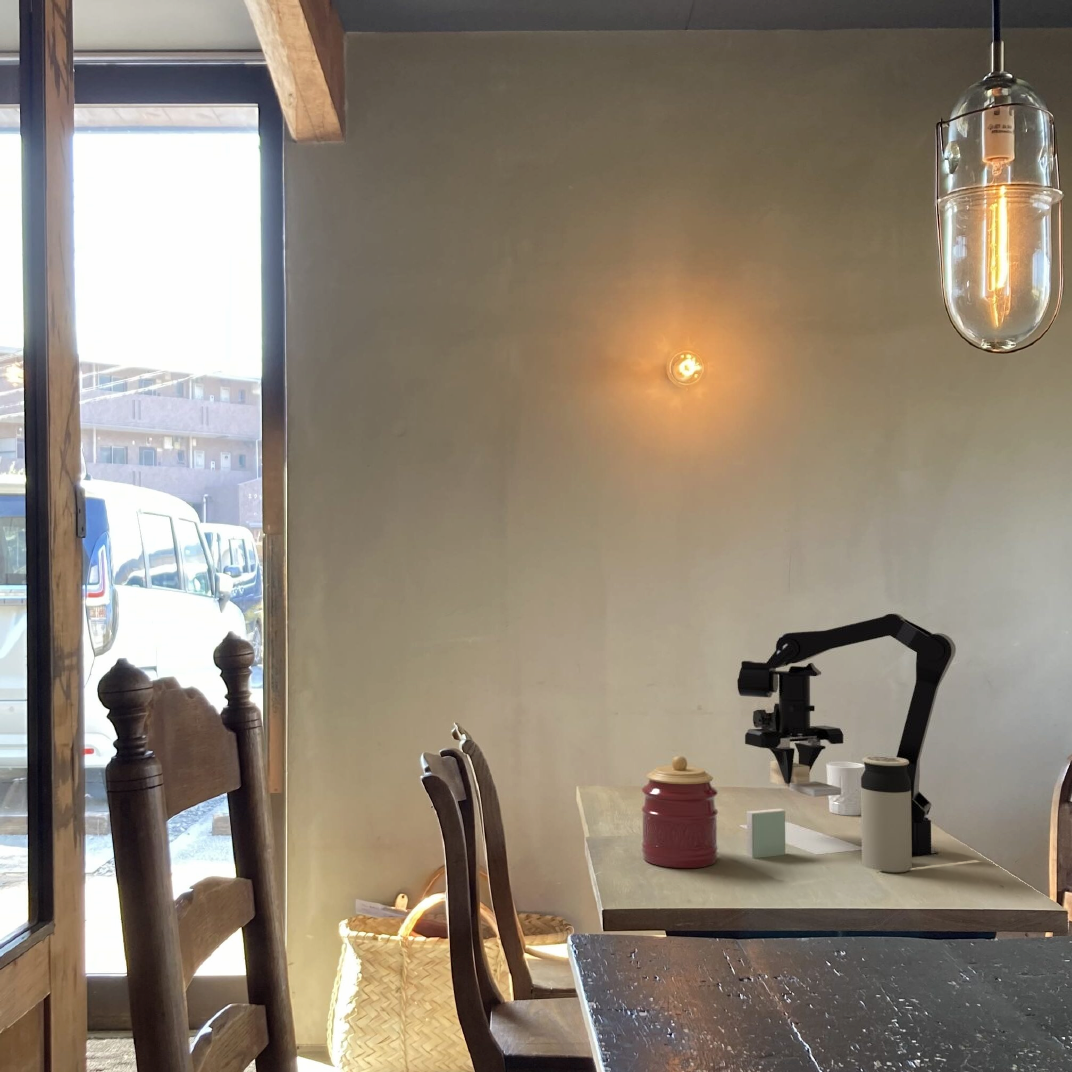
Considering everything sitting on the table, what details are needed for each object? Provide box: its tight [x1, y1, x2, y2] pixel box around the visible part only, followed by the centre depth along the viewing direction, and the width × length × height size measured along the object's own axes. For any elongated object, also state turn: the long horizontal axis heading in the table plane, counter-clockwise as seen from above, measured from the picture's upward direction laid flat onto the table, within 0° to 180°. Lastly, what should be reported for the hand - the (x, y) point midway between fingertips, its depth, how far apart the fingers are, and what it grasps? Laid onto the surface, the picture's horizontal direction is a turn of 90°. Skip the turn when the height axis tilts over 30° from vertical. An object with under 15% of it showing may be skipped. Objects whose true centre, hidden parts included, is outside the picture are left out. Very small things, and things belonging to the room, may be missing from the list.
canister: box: [641, 755, 719, 869], centre depth 177 cm, size 13×13×18 cm
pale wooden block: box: [769, 759, 841, 798], centre depth 191 cm, size 15×6×4 cm, turn 23°
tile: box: [746, 808, 786, 859], centre depth 179 cm, size 2×7×8 cm, turn 113°
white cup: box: [825, 761, 865, 817], centre depth 217 cm, size 8×8×10 cm
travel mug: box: [860, 755, 913, 874], centre depth 173 cm, size 8×8×18 cm
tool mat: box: [738, 820, 862, 856], centre depth 193 cm, size 24×11×1 cm, turn 23°
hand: (794, 783), depth 193 cm, fingers closed on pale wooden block, 3 cm apart
